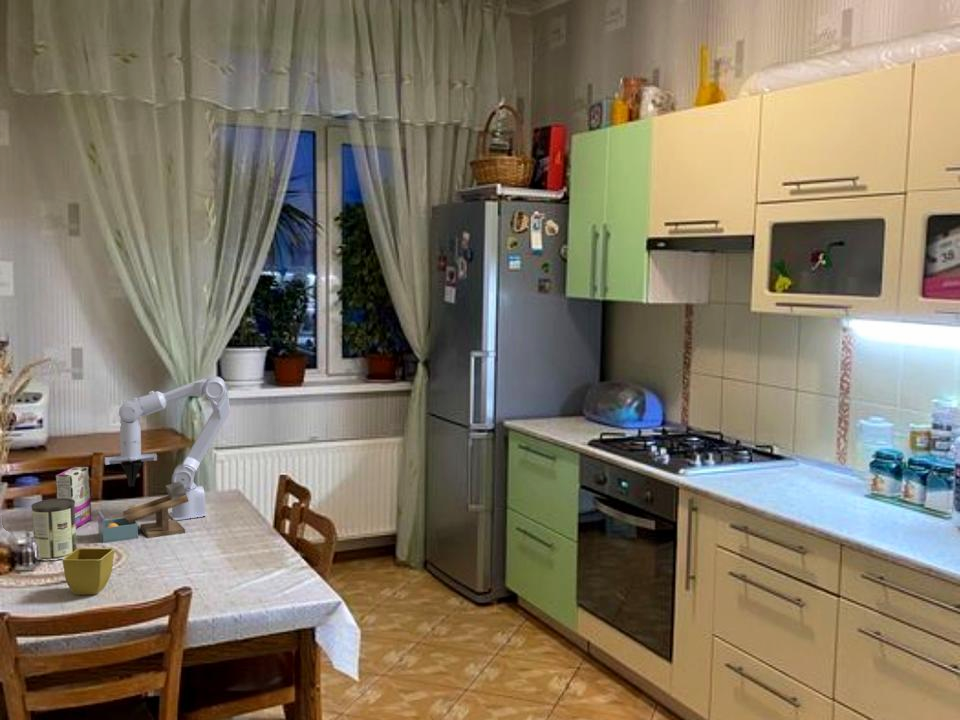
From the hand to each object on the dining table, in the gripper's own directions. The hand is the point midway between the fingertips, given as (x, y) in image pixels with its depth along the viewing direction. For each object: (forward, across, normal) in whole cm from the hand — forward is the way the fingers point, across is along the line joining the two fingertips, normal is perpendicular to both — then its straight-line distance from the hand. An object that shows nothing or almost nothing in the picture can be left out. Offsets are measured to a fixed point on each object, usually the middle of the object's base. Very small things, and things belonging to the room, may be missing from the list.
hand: (131, 486), depth 267 cm
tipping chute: (+4, +4, -13) cm, 14 cm away
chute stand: (+10, +6, -16) cm, 20 cm away
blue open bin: (+10, -6, -16) cm, 20 cm away
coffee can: (+11, -24, -26) cm, 37 cm away
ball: (+8, -8, -16) cm, 20 cm away
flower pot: (+11, -20, -60) cm, 64 cm away
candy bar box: (+11, -16, +3) cm, 19 cm away
